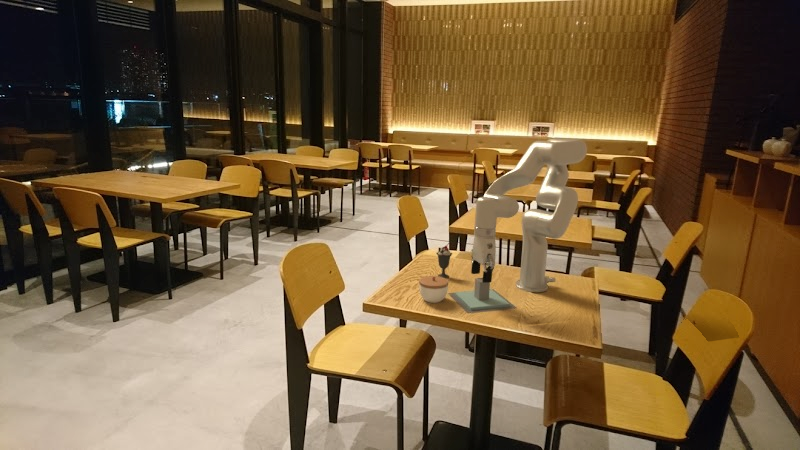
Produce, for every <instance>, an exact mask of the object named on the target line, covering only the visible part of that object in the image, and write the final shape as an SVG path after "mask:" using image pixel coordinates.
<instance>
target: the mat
mask: <svg viewBox="0 0 800 450" xmlns="http://www.w3.org/2000/svg"><path fill="white" fill-rule="evenodd" d="M491 289H492V288H491ZM492 290H493V291H494V292H495V293H497V294H498V295H499V296H501V297H502V298H503V299H504V300H506V301H507V302H508V303H509V304H510V306H509V307H500V308H490V309H480V310H470V309H469V308H468V307H467V306H466V305H465V304H464V303H463V302H462V301H461V300H460V299H459V298H458V297H456V296H455V292H447V295H449V296H450V297H451V298H452V300H454V301H455V302H456V303H457V305H459V306H460V307H461V309H463V310H464V311H465V312H466V314H475V313H484V312H493V311H496V312H497V311H504V310H513V309H514V310H516V309H518V307H517V306H515V304H513V303H512V302H510V301H509V300H508V299H506V297H504V296H503V295H502V294H500V293H499V292H498V291H497V290H495V289H492Z"/></svg>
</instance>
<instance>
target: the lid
mask: <svg viewBox="0 0 800 450" xmlns="http://www.w3.org/2000/svg"><path fill="white" fill-rule="evenodd" d="M490 286H491V282H487V283H483V277H476V278H475V279H474V290H466V291H456V292H454V293H455V296H456V297H458V298H459V299H460V300H461V301H462V302H463V303H464V304H465V305H466V306H467V307H468V308H469V309H470V310H480V309H490V308H500V307H509V306H510V304H509V303H508V302H507V301H506V300H507V299H506V300H504V299H503V298H502V297H501V296H502V295H501V296H499V295H498V294H497V293H495V292H494V291H493V290H492V288H491V287H490Z"/></svg>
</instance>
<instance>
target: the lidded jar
mask: <svg viewBox="0 0 800 450" xmlns="http://www.w3.org/2000/svg"><path fill="white" fill-rule="evenodd" d="M418 283H419V285H418V286H419V288H418V289H419V294H420V296H421V297H422V300H424V301H425V302H427V303H432V304H436V303H441V302H442V301H443V300H444V299H445V298H446V297H447V295H448V290H449V280H448V278H443V277H439V276H438V275H427V276H423V277H420V278H419V281H418Z"/></svg>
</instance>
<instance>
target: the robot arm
mask: <svg viewBox="0 0 800 450" xmlns="http://www.w3.org/2000/svg"><path fill="white" fill-rule="evenodd" d="M587 153H588V146H587V144H586V142H585V141H584V140H582V139H577V138H575V139H574V138H563V137H562V138H561V137H558V138H557V137H553V138H549V139H547V140H536V141H533V142H532V143H531V144H530V145H529V146H528V148H527V149H526V151H525V152H524V153H523V155H522V156H521V158H520V160H518V162H517V164H516V165H515V167H514V168H513V169H512V170H510V171H508V172H507V173H505V174H503V175H501V176H500V177H498V178H497V179H495V180H494V181H493V182H492V183H491V184H490V186H489V187H488V189H487V190H486V191H485V192H484V195H483V196H480V197H478V198H477V199H476V203H475V204H476V205H475V216H474V226H473V227H474V229H473V236H474V238H473V244H472V248H471V271H470V272H471V274H472V275H479V274H480V273H481V265H482V266H483V270H484V271H482V278H483V283H487V282H490V283H492V278H493V272H494V268H495V265H496V232H497V222H498V221H497V220H498V218H503V219H509V218H513V217H514V216H516V215H517V214H518V212H519V208H520V205H519V202H518V200H517V199H515V198H513V197H510V196H507V195H505V194H507V193H508V192H509V191H512V190H514V189H518V188H521V187H525V186H528V185H531V184H533V183H534V181H536V178H537V177H538V176H539V174H540V173H541V171H542V170H543V168H544V167H545V166H546V172H545V175H544V177H543V179H542V183H540V186H539V188H538V191H537V193H536V195H535V201H536V202H535V203H536V204H537V206H539V207H541V208H543V209H547V210H543V209H539V208H530V209H528V210H526V211H525V212H524V213H523V215H522V217H521V230H522V231H521V232H522V248H521V249H522V250H521V258H520V259H521V262H520V273H519V280H516V281H515V287H516V288H517V289H519V290H521V291H524V292H529V293H544V292H546V291H548V290H549V285H548V284H549V283H555V282H556V277H555V276H553V277H550V276H548V275H546V269H547V257H548V248H549V247H548V241H547V238H548V239H553V240H556V239H557V240H559V239H560V238H562V237H563V236H564V235H565V233H566V232H567V229H568V227H569V225H570V224H571V220H572V218H573V217H574V214H575V212H576V209H577V207H578V204H579V203H578V202H579V195H578V191H576V190H575V189H574V188H572V187H569V186H567V182H568V181H569V177H570V176H569V175H570V173H569V170H568V169H569V168H568V167H567V166H568V165H571V164H572V165H573V164H579V163H580V162H583V160H584V159H585V158H586V156H587ZM548 210H551V211H548Z"/></svg>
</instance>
